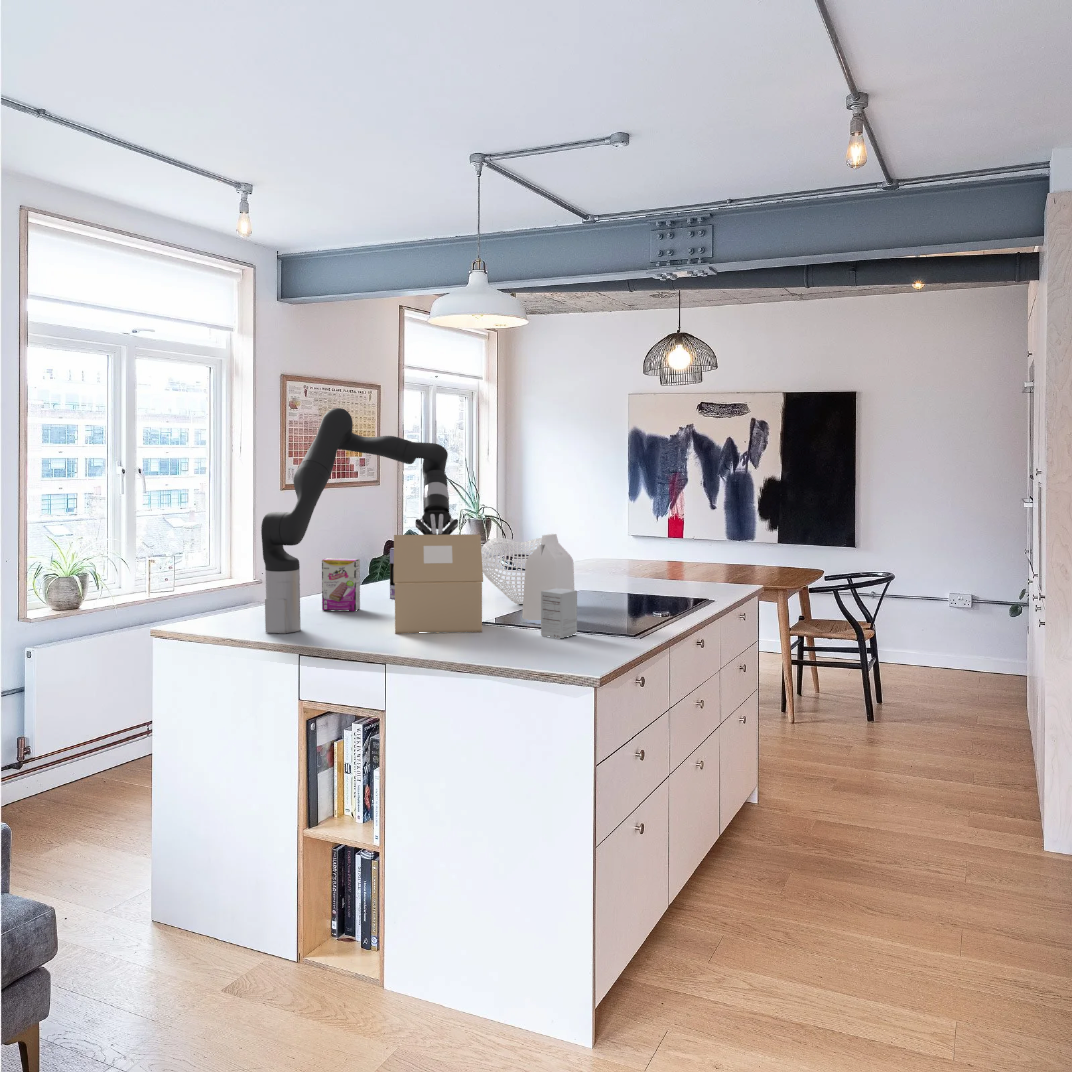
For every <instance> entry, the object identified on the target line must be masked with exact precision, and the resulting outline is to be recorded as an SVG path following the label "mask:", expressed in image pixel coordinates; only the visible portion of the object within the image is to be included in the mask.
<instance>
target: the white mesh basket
mask: <svg viewBox="0 0 1072 1072" xmlns="http://www.w3.org/2000/svg"><path fill="white" fill-rule="evenodd" d="M541 541H542V537H540V538H538V537H537V538H534V539H530V540H528V541H523V542H522V541H516V540H513V539H509V538H505V537H494V538H492V539H489V540H488V541H486V542H485V543H484V544H483V545H482V546H481V552H482V569H483V576H485V577H486V579H487V580H488V581H490V583H491V584H493V585H494V586H495V587H496V588H497V589H498V590H499V591H500V592H501V593H503V594H504V596H506V597H507V598H508V599H509V600H510V601H511V602H513V603H514V604H516V605H518V604H523V596H524V587H523V586H524V583H523V582H524V580H525V579H523V578H525V575H523V574H525V570H523V569H525V566H523V564H524V565H525V564H526V560H527V558H528V557H529V556H530V555H531V553H533V552H534V551H535V550H536V549H537V548H538V547H539V546H540V545H541ZM507 547H508V548H507ZM531 549H532V550H531ZM519 550H520V551H519ZM527 550H528V551H527ZM503 551H504V552H503ZM487 553H488V554H487ZM511 553H512V554H511ZM515 554H516V555H515ZM519 554H520V556H519ZM523 554H524V556H523ZM527 554H528V555H527ZM494 555H495V557H494ZM503 556H504V558H503ZM507 556H508V559H507ZM511 557H512V559H511ZM494 559H495V560H494ZM515 559H516V560H515ZM519 559H520V561H519ZM523 559H524V561H523ZM498 560H499V562H498ZM502 560H503V561H504V562H503V563H502ZM506 561H507V564H506ZM510 562H511V563H512V564H511V565H510ZM514 563H516V566H515V565H514ZM518 564H520V566H518ZM497 565H498V566H497ZM501 566H502V568H501ZM505 567H506V569H505ZM509 568H511V570H509ZM513 568H515V570H513ZM518 569H520V571H519V570H518ZM500 571H501V573H500ZM504 572H505V574H504ZM508 573H510V575H509V574H508ZM513 573H515V575H513ZM518 573H519V574H520V575H518ZM502 577H504V578H502ZM507 577H508V578H509V579H507ZM512 578H514V579H512ZM518 578H520V579H518ZM507 582H509V583H507ZM512 582H514V583H512ZM518 582H520V583H518ZM513 586H514V587H513ZM518 586H520V587H518ZM519 590H520V591H519Z"/></svg>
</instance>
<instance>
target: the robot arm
mask: <svg viewBox="0 0 1072 1072" xmlns="http://www.w3.org/2000/svg"><path fill="white" fill-rule="evenodd" d="M353 425H354V424H353V418H352V416H351V414H350V413H349V411H347V410H346V409H345V408H341V407H337V408H332V409H329V410H328V411H327V412H326V413H325V414H324V415H323V416H322V419H321V422H320V425H319V428H318V430H317V433H316V436H315V438H314V439H313V441H312V442H311V444H310V446H309V448H308V449H307V452H306V453H305V455H304V457H303V459H302V460H301V462H300V464H299V466H298V468H297V469H296V471H295V473H294V476H293V480H292V481H293V487H294V491H295V494H296V495H295V496H296V497H297V501H296V504H295V506H294V508H293V509H292V510H291V511H290V512H289V511H287V512H285V511H271V512H270V511H269V512H267V513H266V514H264V516H263V519H262V520H261V521H262V522H261V527H260V528H261V529H260V531H261V533H260V534H261V544H262V558H263V559H262V560H263V563H264V566H265V567H264V569H265V599H264V617H265V618H264V623H265V626H264V628H265V633H268V634H269V633H271V634H289V633H294V632H296V633H297V632H299V631H301V628H302V627H301V587H300V586H301V583H300V582H301V581H300V580H301V578H300V560H299V558H297V557H295V556H293V555H291V554H289V553H288V552H287V551H286V550H285V548H284V546H288V547H289V546H297V545H299V544H300V543H301V542H302V540H304V539H303V538H305V535H306V533H307V530H308V527H309V525H310V522H311V519H312V516H313V513H314V510H315V508H316V506H317V504H318V501H319V499H320V497H321V495H322V493H323V491H324V490H325V487H326V486H327V483H328V482H329V480H330V478H331V475H332V471H333V469H334V465H335V461H336V456H337V453H338V450H340V451H348V452H354V453H362V454H367V455H368V454H369V455H372V456H379V457H384V458H387V459H390V460H393V461H396V462H399V463H403V464H407V465H412V464H414V463H415V461H416V460H417V459H423V461H422V476H423V496H422V499H423V514H422V516H421V517H420V519H418V518H416V519H415V528H416V529H418V530H419V531H420V533H422V535H452V533H453V532H454V531H455V530H456V529H457V528H458V527H459V526H458V525H459V519H458V518H455V519H454V518H452V515H451V513H450V501H449V500H450V497H449V496H450V495H449V490H448V478H447V475H446V465H447V460H448V455H449V454H448V451H447V449H446V448H445V447H444V446H442V445H441V444H439V443H433V442H419V441H418V442H417V441H411V440H408V439H405V438H402V437H398V436H395V435H382V436H371V437H368V436H367V437H366V436H361V435H359V434H356V433H354V432H353ZM447 525H448V526H447Z"/></svg>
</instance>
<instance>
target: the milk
mask: <svg viewBox="0 0 1072 1072" xmlns="http://www.w3.org/2000/svg"><path fill="white" fill-rule="evenodd" d="M541 536H542V537H541V538H542V541H541V543H540V546H539V547H538V548H537V547H536V548H535V549H536V550H535V551H534V552H531V553H530V556H529V555H528V556H529V557H528V558H526V564H525V563H524V567H525V568H524V571H525V573H524V576H525V577H524V579H523V580H524V581H523V582H524V583H523V584H524V585H523V588H524V589H523V591H524V593H523V595H524V596H523V597H522V598H523V599H522V600H523V605H522V615H521V619H522V618H523V619H528V620H541V591H545V590H550V589H555V588H560V589H569V590H575V571H574V569H575V568H574V567H575V566H574V565H575V564H574V559H573V557H572V556H571V554H570V553H569V552H568V551H567V550H566V549H565V548H564V547H563V546H562V545H561V543H559V539H558V535H557V534H556V533H548V534H543V535H541Z"/></svg>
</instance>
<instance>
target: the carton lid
mask: <svg viewBox="0 0 1072 1072" xmlns="http://www.w3.org/2000/svg"><path fill="white" fill-rule="evenodd" d="M481 536H482V535H481V534H450V535H438V534H437V535H424V534H394V535H393V548H394V583H433V582H482V583H483V582H484V573H483V569H482V564H483V563H482V562H483V561H482V552H483V551H482V552H481V548H482V540H481V539H482V537H481Z"/></svg>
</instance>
